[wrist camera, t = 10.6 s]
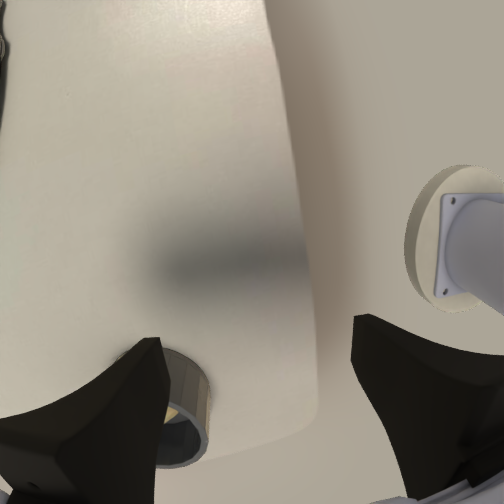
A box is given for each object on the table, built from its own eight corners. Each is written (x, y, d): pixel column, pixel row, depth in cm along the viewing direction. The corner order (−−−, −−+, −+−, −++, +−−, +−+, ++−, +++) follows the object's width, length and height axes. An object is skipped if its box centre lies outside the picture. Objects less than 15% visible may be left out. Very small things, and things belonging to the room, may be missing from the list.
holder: (201, 343, 23) (195, 391, 17) (217, 420, 25) (216, 468, 20) (98, 347, 22) (73, 389, 17) (128, 421, 25) (114, 465, 19)
